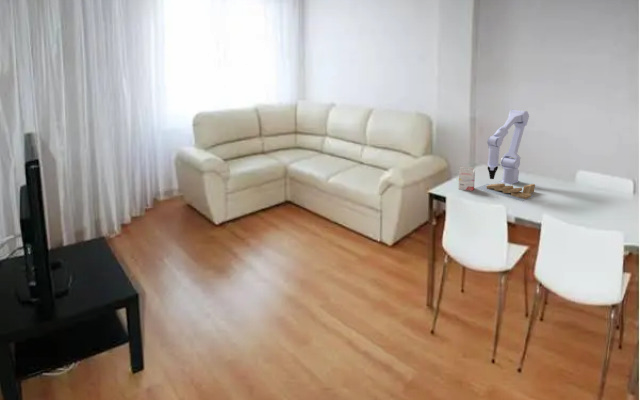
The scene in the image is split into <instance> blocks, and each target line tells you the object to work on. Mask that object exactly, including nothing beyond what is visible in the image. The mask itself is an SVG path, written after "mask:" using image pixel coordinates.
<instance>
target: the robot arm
mask: <svg viewBox="0 0 640 400" xmlns="http://www.w3.org/2000/svg"><path fill="white" fill-rule="evenodd" d="M529 117H530V115H529V112H528V110H519V109H517V110H516V109H511V110H510V111H509V113H508V115H507V119H506V121H505V122H504V124H503V126H500V127H499V128H498V129H497V130H496V131H495V132H494V133H493V135H491V136H489V137H488V139H487V141H486V142H487V147H488V157H487V158H488V159H487V170H488V174H489V179H490V180H495V176H496V173H497V171H498V169H499V166H501V167H502V169H503V170H502V180H500V181H499V183H501V184H502V183H504V184H505V185H513V184H516V183H520V181H519V175H520V172H519V171H520V170H519V167H520V165H521V157H520V155H519V154H518V153H519V148H520V146H521V145H520V144H521V141H522V137H523V135H524V131H525V127H526V126H527V125H528V121H529V119H530V118H529ZM513 125H514V130H513V135H512V137H511V140H510V145H509V148H508V151H507V152H505V153H504V154H503V157H502V158H501V159H500V147H501V146H502V144H503V141H504V138H505V137H506V136H507V135H508V133H509V131H508V130H510V128H512V127H513ZM499 160H500V163H499Z"/></svg>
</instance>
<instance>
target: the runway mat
mask: <svg viewBox="0 0 640 400" xmlns="http://www.w3.org/2000/svg"><path fill="white" fill-rule="evenodd" d="M488 185H491V183H486V184H483V185H481V186H477V187H475V190H476V189H477V190H480V191H484V192H487V193H492V194H494V195H498V196H502V197H506V198H510V199H513V200H515V201H520V202H524V201H526V200H529V199H531V198H534V197H535V195H531V197H530V198H527V199H523V198H519V197H515V196H512V195H511V193H503V190H501V191H495V189H494V188H490V189H487V187H486V186H488Z"/></svg>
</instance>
